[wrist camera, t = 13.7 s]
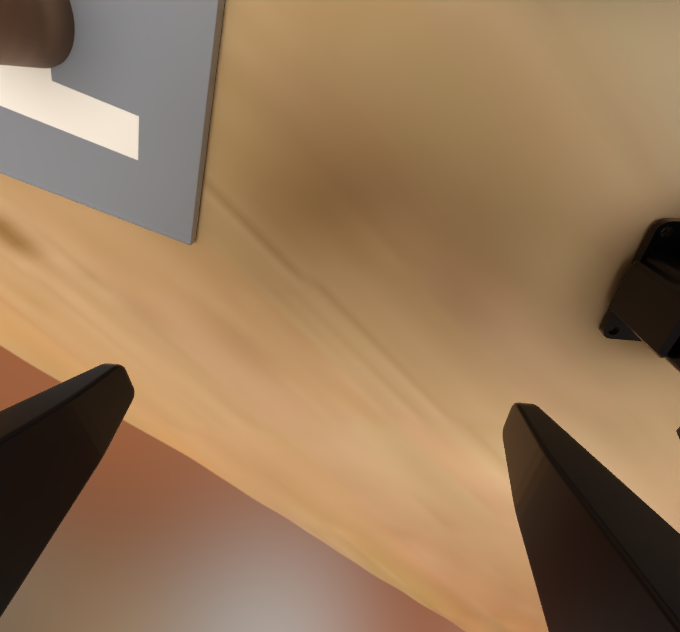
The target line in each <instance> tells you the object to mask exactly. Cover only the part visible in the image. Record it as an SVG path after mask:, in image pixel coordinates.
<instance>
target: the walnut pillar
mask: <svg viewBox="0 0 680 632" xmlns="http://www.w3.org/2000/svg"><path fill="white" fill-rule="evenodd" d="M74 31H75V30H74V18H73V12H72V8H71V4H70V1H69V0H0V65H8V66H20V67H32V68H52V67H56V66H58V65H60V64H61V63H62V62H64V61H65V59H66V58H67V57H68V55H69V53H70V52H71V49H72V46H73V41H74Z"/></svg>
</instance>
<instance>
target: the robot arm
mask: <svg viewBox="0 0 680 632" xmlns="http://www.w3.org/2000/svg"><path fill="white" fill-rule="evenodd" d="M666 227H668V230H667V231H666V232H665V233H663V234H661V231H662V230H663V229H664V228H666ZM613 327H615V328H614V329H613V330H611V331H609V330H610V329H611V328H613ZM600 332H601V333H602V334H603V335H604V336H605V337H606V338H610V339H623V340H636V341H643V342H644V343H645V344H646V345H647V346H648V347H649V348H650V349H651V350H652V351H653V352H654V353H655V354H656V355H657V356H659V357H661V358H665V359H666V360H667V361H668V362H669V363H671V364H672V365H673V366H674V367H675V368H676V369H677V370H678V371H679V372H680V219H661V220H659V221H657V222H656V223H654V224H653V225H652V226H651V228H650V229H649V231H648V233H647V235H646V237H645V239H644V241H643V243H642V245H641V247H640V249H639V251H638V253H637V255H636V257H635V259H634V261H633V263H632V264H631V265H630V267H629V269H628V271H627V273H626V275H625V277H624V279H623V281H622V283H621V285H620V287H619V289H618V291H617V293H616V295H615V297H614V298H613V300H612V302H611V304H610V308H609V310H608V312H607V314H606V316H605V318H604V320H603V322H602V324H601V326H600ZM133 398H134V388H133V385H132V383H131V381H130V378H129V376H128V374H127V371H126V369H125V368H124V367H123V366H122V365H118V364H102V365H99V366H97V367H95V368H93V369H91V370H89V371H86V372H84V373H82V374H80V375H78V376H76V377H73V378H71V379H69V380H67V381H65V382H63V383H61V384H58V385H56V386H54V387H52V388H50V389H48V390H46V391H43V392H41V393H39V394H37V395H35V396H33V397H30V398H28V399H26V400H24V401H22V402H19V403H17V404H15V405H13V406H11V407H9V408H7V409H4V410H2V411H0V617H1V616H2V614H3V613H4V611H5V609H6V608H7V606H8V605H9V603H10V602H11V600H12V599H13V597H14V596H15V594H16V592H17V591H18V589H19V588H20V586H21V585H22V583H23V581H24V580H25V578H26V577H27V575H28V574H29V572H30V571H31V569H32V567H33V566H34V564H35V563H36V561H37V560H38V558H39V557H40V555H41V553H42V552H43V550H44V549H45V547H46V545H47V544H48V542H49V541H50V539H51V538H52V536H53V535H54V533H55V531H56V530H57V528H58V527H59V525H60V523H61V522H62V521H63V519H64V517H65V516H66V514H67V513H68V511H69V510H70V508H71V507H72V505H73V503H74V502H75V500H76V499H77V497H78V495H79V494H80V492H81V491H82V489H83V488H84V486H85V485H86V483H87V482H88V480H89V478H90V477H91V475H92V474H93V472H94V471H95V469H96V467H97V466H98V464H99V463H100V461H101V459H102V458H103V456H104V454H105V452H106V450H107V448H108V447H109V445H110V443H111V441H112V439H113V437H114V435H115V433H116V431H117V429H118V427H119V425H120V423H121V422H122V420H123V418H124V416H125V414H126V412H127V410H128V408H129V406H130V404H131V402H132V400H133ZM676 431H677V434H678V436H679V439H680V427H679V428H678V429H677V430H676ZM503 442H504V448H505V454H506V460H507V466H508V472H509V478H510V484H511V490H512V496H513V502H514V507H515V511H516V515H517V519H518V523H519V527H520V530H521V534H522V537H523V541H524V545H525V548H526V552H527V555H528V559H529V562H530V566H531V570H532V573H533V577H534V580H535V584H536V587H537V591H538V595H539V598H540V602H541V605H542V609H543V612H544V616H545V620H546V623H547V627H548V630H549V632H680V534H679V533H678V532H677V531H676V530H675V529H673V528H672V527H671V526H670V525H669V524H668V523H667V522H666V521H665V520H663V519H662V518H661V517H660V516H659V515H658V514H657V513H656V512H655V511H653V510H652V509H651V508H650V507H649V506H648V505H647V504H646V503H645V502H643V501H642V500H641V499H640V498H639V497H638V496H637V495H636V494H635V493H633V492H632V491H631V490H630V489H629V488H628V487H627V486H626V485H625V484H623V483H622V482H621V481H620V480H619V479H618V478H617V477H616V476H615V475H613V474H612V473H611V472H610V471H609V470H608V469H607V468H606V467H605V466H603V465H602V464H601V463H600V462H599V461H598V460H597V459H596V458H595V457H593V456H592V455H591V454H590V453H589V452H588V451H587V450H586V449H585V448H583V447H582V446H581V445H580V444H579V443H578V442H577V441H576V440H575V439H573V438H572V437H571V436H570V435H569V434H568V433H567V432H566V431H565V430H563V429H562V428H561V427H560V426H559V425H558V424H557V423H556V422H555V421H553V420H552V419H551V418H550V417H549V416H548V415H547V414H546V413H545V412H543V411H542V410H541V409H540V408H539V407H538V406H536V405H534V404H527V403H515V404H513V406H512V407H511V410H510V412H509V415H508V417H507V420H506V422H505V425H504V428H503Z"/></svg>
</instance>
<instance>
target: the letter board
mask: <svg viewBox="0 0 680 632" xmlns="http://www.w3.org/2000/svg"><path fill="white" fill-rule="evenodd" d="M69 1H70V4H71V8H72V12H73V18H74V30H75V31H74V41H73V46H72V49H71V52H70V53H69V55H68V57H67V58H66V59H65V61H64V62H62V63H61V64H60V65H58V66H56V67H52V68H32V67H20V66H8V65H0V173H2V174H4V175H7V176H9V177H12V178H15V179H17V180H20V181H23V182H25V183H28V184H30V185H33V186H36V187H38V188H41V189H44V190H46V191H49V192H51V193H54V194H57V195H59V196H62V197H65V198H67V199H70V200H72V201H75V202H78V203H80V204H83V205H86V206H88V207H91V208H93V209H96V210H99V211H101V212H104V213H107V214H109V215H112V216H114V217H117V218H120V219H122V220H125V221H128V222H130V223H133V224H135V225H138V226H141V227H143V228H146V229H148V230H151V231H154V232H156V233H159V234H162V235H164V236H167V237H169V238H172V239H175V240H177V241H180V242H183V243H185V244H188V245H191V244H193V243H194V242H195V240H196V232H197V224H198V216H199V207H200V199H201V191H202V183H203V175H204V167H205V159H206V150H207V142H208V134H209V126H210V118H211V110H212V102H213V94H214V85H215V77H216V69H217V61H218V53H219V45H220V37H221V28H222V20H223V12H224V4H225V0H69Z"/></svg>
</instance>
